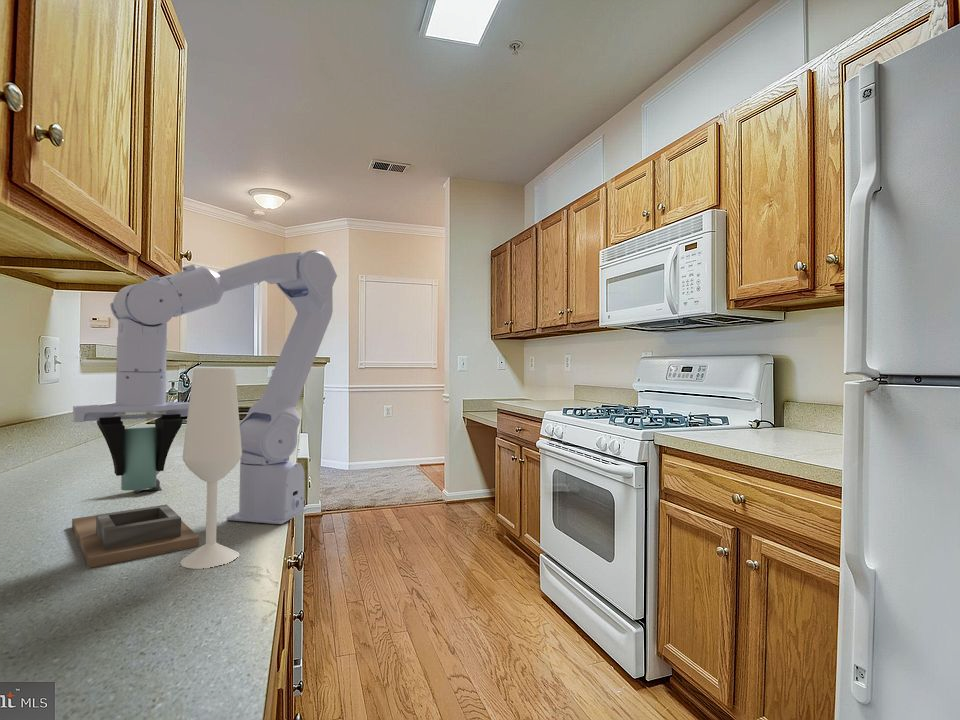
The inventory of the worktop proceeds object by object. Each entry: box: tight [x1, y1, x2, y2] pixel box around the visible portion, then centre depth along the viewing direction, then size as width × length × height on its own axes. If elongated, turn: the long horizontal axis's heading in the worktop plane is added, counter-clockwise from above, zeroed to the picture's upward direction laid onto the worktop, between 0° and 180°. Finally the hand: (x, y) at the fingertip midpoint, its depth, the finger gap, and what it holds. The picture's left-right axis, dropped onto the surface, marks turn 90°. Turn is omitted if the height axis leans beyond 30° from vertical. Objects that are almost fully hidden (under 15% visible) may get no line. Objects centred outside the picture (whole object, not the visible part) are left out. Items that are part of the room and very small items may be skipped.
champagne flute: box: [180, 367, 242, 570], centre depth 67 cm, size 7×7×24 cm
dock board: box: [71, 504, 200, 569], centre depth 74 cm, size 20×12×4 cm, turn 42°
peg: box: [120, 426, 157, 491], centre depth 72 cm, size 4×4×8 cm
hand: (139, 472), depth 71 cm, fingers closed on peg, 4 cm apart
